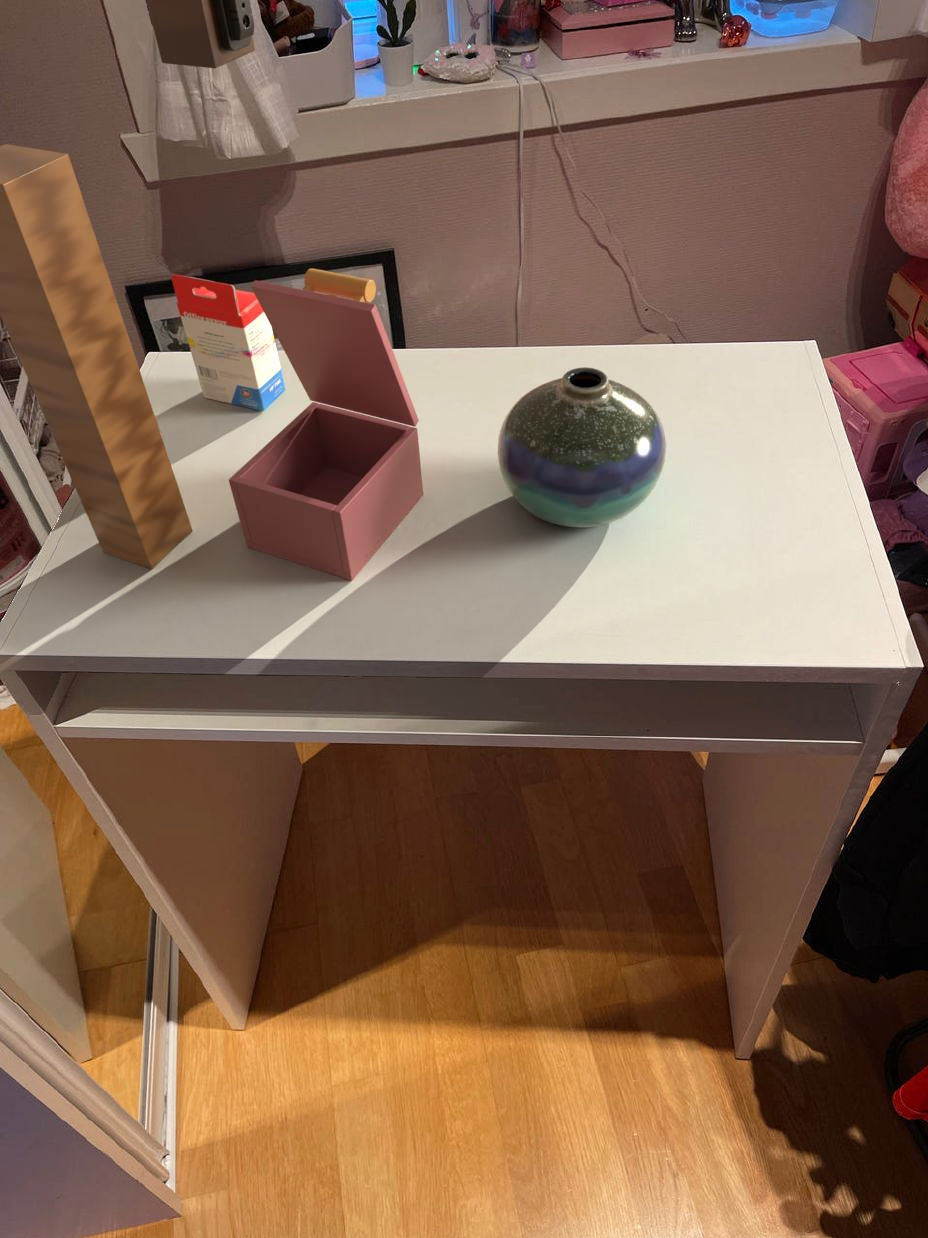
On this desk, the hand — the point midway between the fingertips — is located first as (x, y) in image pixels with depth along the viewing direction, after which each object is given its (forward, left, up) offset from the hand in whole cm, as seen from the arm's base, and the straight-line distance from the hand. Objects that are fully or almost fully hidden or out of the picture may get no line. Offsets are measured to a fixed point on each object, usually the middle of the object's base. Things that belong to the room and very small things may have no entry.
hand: (206, 42), depth 56 cm
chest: (+3, -1, -41) cm, 41 cm away
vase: (+15, -21, -41) cm, 48 cm away
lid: (+7, -1, -26) cm, 27 cm away
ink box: (+18, +21, -41) cm, 49 cm away
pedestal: (-7, +14, -41) cm, 43 cm away
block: (0, 0, -1) cm, 1 cm away
